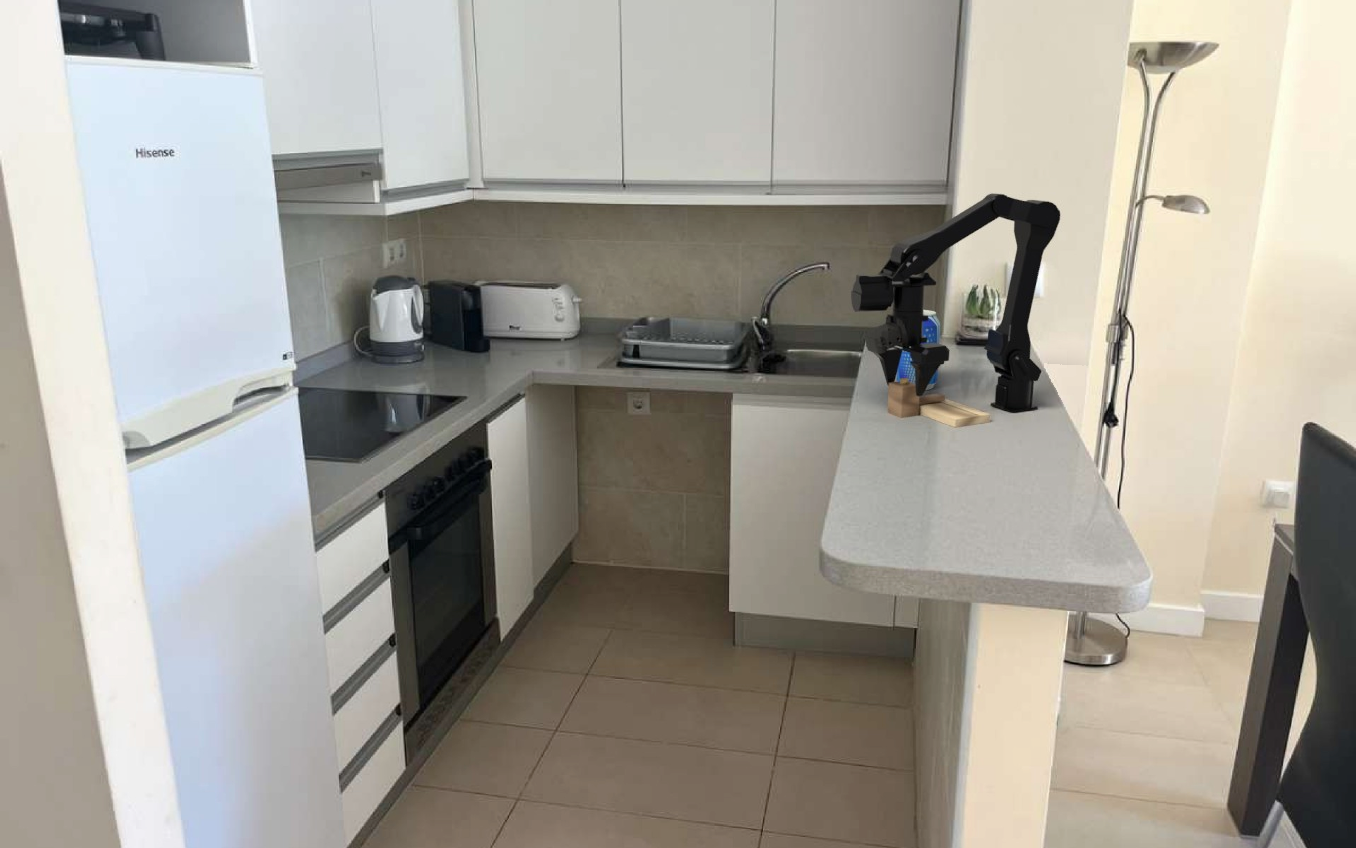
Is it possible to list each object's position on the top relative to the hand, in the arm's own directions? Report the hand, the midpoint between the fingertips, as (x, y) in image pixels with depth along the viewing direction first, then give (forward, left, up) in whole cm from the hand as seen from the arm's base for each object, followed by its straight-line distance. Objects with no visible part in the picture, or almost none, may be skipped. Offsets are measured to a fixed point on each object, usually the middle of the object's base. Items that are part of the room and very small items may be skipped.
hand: (904, 390), depth 191 cm
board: (-7, +4, -5) cm, 9 cm away
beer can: (-16, -17, -5) cm, 24 cm away
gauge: (-3, 0, -5) cm, 6 cm away
